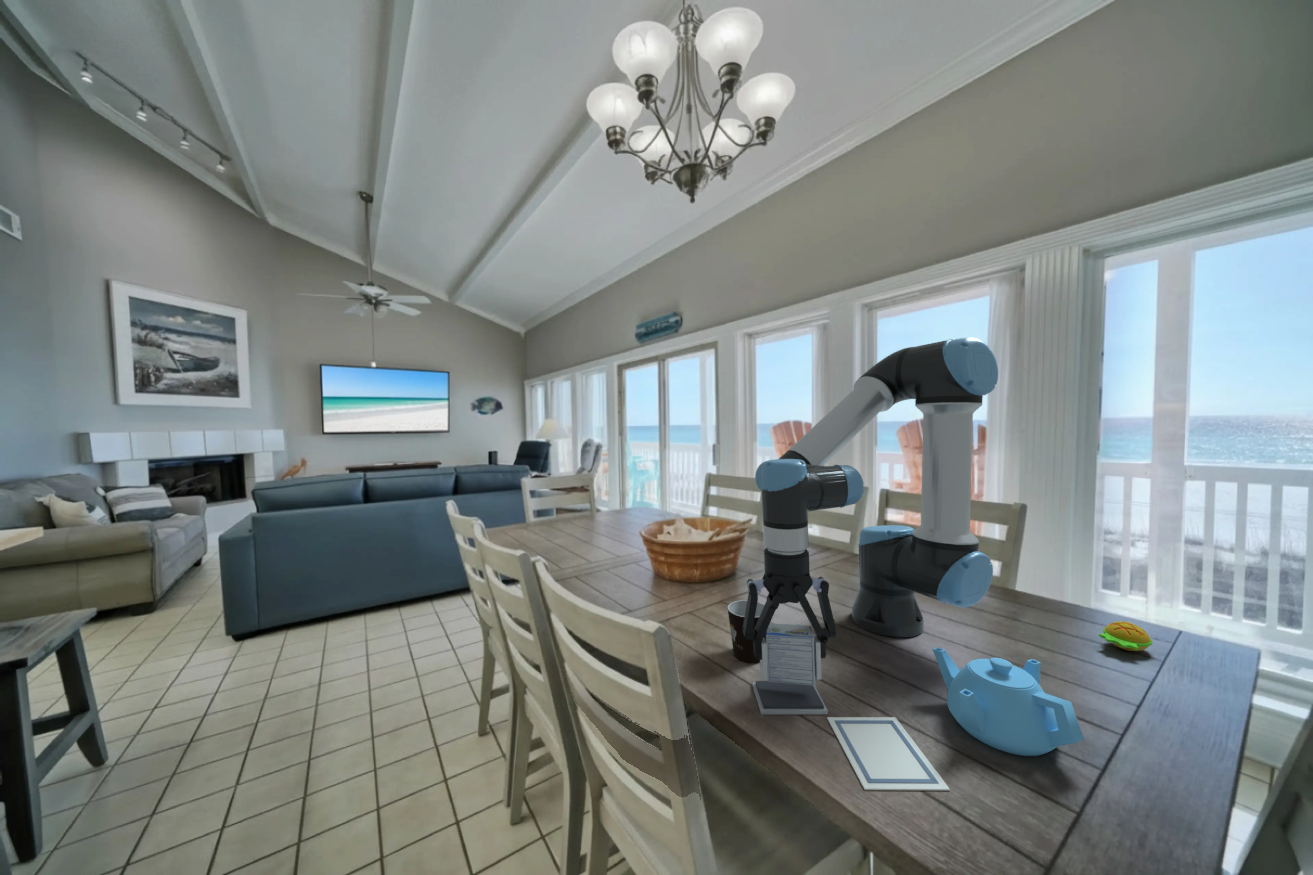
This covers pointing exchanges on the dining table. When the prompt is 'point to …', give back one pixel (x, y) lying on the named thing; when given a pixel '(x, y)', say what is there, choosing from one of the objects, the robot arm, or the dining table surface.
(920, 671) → the dining table surface
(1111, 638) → the toy burger
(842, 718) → the print sheet
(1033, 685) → the teapot
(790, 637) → the medicine box
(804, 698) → the ink pad
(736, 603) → the coffee mug
